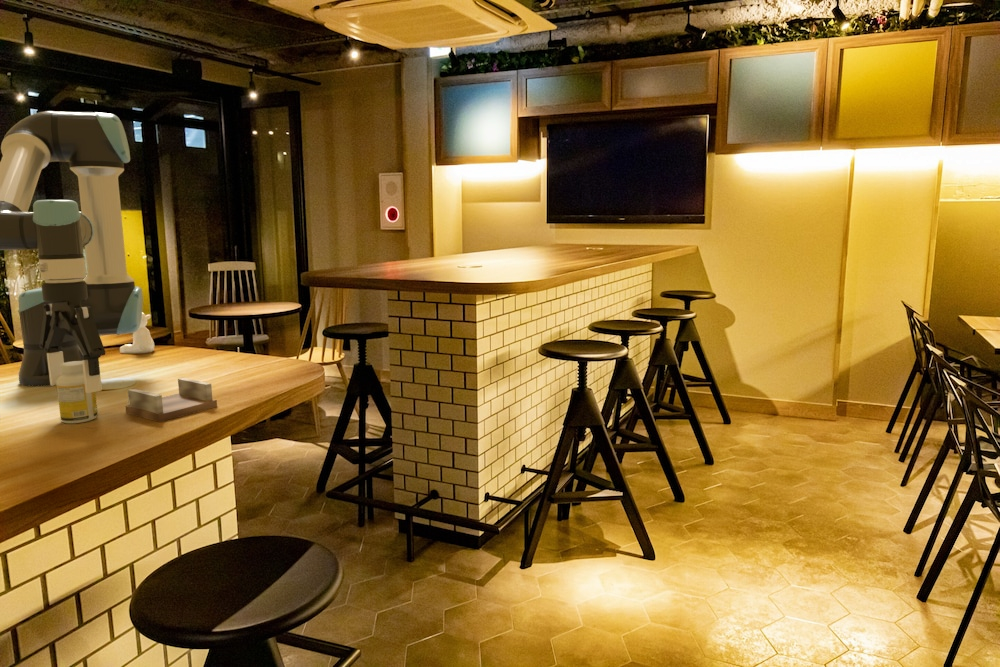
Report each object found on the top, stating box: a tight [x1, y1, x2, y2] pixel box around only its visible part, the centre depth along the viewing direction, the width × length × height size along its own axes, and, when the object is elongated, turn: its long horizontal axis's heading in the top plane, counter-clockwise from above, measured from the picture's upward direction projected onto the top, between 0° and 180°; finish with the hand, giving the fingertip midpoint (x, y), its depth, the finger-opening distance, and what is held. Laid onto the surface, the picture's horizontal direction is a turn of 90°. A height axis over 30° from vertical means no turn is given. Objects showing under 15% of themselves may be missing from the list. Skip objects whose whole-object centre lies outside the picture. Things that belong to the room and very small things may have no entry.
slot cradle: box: [124, 377, 218, 423], centre depth 149 cm, size 12×13×5 cm
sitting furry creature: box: [119, 312, 155, 354], centre depth 211 cm, size 10×9×12 cm
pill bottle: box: [55, 361, 99, 425], centre depth 142 cm, size 6×6×12 cm
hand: (75, 387), depth 141 cm, fingers open, 13 cm apart
